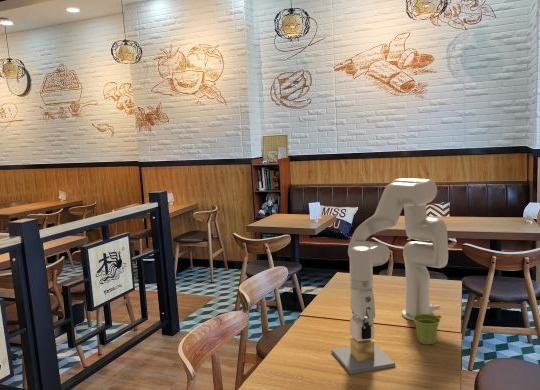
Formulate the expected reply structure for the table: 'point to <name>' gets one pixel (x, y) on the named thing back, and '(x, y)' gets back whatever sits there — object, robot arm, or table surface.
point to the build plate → (365, 365)
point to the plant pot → (426, 328)
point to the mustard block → (362, 349)
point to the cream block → (359, 328)
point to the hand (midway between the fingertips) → (362, 334)
